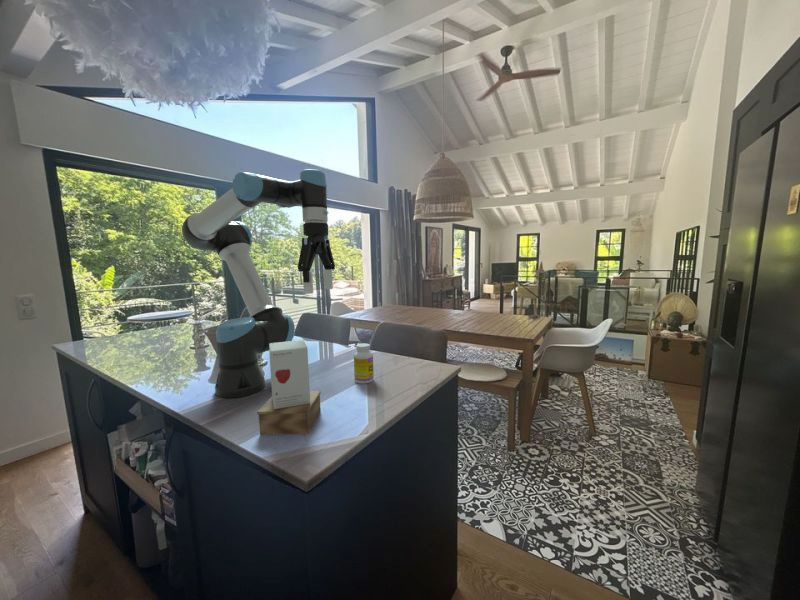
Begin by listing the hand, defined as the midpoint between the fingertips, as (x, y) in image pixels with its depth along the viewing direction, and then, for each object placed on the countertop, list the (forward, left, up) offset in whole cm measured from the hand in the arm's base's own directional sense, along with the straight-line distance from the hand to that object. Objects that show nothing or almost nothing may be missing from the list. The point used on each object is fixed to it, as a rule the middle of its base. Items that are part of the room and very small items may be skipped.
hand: (319, 291), depth 107 cm
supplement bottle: (+11, +9, -33) cm, 36 cm away
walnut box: (+1, -23, -32) cm, 40 cm away
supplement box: (+1, -22, -27) cm, 35 cm away
